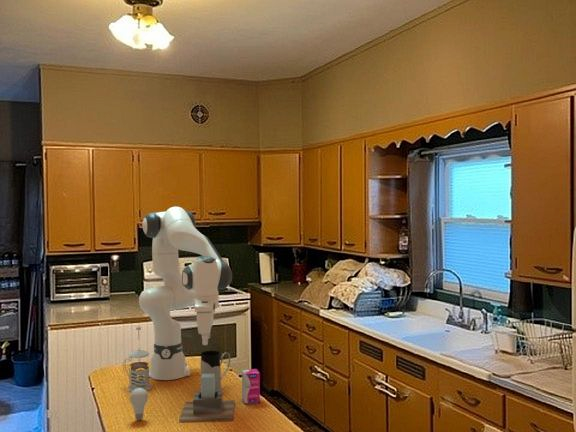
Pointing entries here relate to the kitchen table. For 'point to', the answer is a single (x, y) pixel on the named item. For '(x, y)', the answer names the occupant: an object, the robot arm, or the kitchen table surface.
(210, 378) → the peg
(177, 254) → the robot arm
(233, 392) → the kitchen table surface
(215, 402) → the socket
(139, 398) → the lightbulb
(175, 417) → the kitchen table surface
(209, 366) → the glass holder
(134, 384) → the french press
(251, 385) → the supplement box
